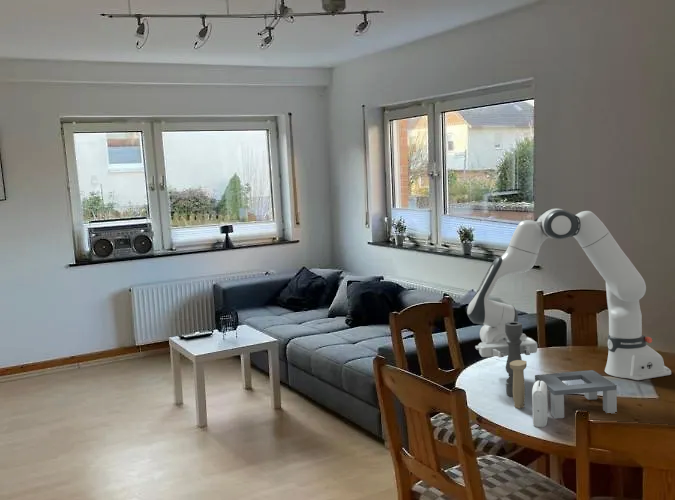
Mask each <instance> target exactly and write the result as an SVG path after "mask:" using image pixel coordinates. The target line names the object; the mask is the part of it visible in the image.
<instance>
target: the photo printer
mask: <svg viewBox="0 0 675 500" xmlns="http://www.w3.org/2000/svg"><path fill="white" fill-rule="evenodd" d="M547 393H548V390H547V385H546V383H545V382H544V381H536V382H535V381H534V383H533V386H532V389H531V397H532V398H531V400H532V424H533V426H534V427H536V428H544V427H546V426H547V425H548V424H547V423H548V416H549V415H548V414H549V411H548V410H549V405H548V403H549V402H548V401H549V400H548V401H547Z"/></svg>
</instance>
